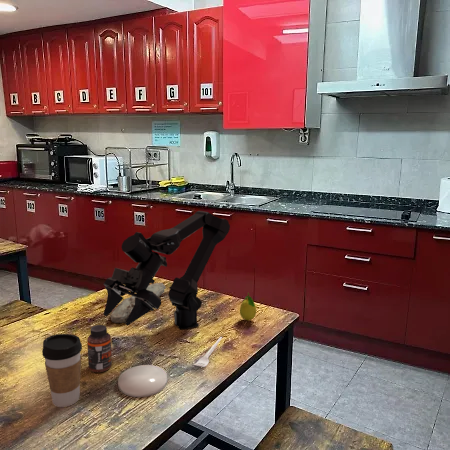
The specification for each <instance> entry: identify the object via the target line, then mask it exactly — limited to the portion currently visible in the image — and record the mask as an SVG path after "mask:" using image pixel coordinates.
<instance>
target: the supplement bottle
mask: <svg viewBox="0 0 450 450" xmlns="http://www.w3.org/2000/svg"><path fill="white" fill-rule="evenodd" d="M86 345H87V361H88V363H87V364H88V365H87V366H88V370H90V371H91V372H93V373H103V372H106V371H108V370H110V368H111V367H112V363H113V362H112V361H113V360H112V357H113V355H112V337H111V335H110V334H109V332H108V330H107V326H106V325H103V324H95V325H94V326H91V328H90V333H89V335H88V336H87V343H86Z"/></svg>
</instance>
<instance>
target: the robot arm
mask: <svg viewBox="0 0 450 450" xmlns="http://www.w3.org/2000/svg"><path fill="white" fill-rule="evenodd" d="M200 229H202V230H201V231H202V232H201V233H202V239H201V241H200V243H199V245H198V247H197V248H196V251H195V252H194V254H193V257H191V260H190V262H189V264H188V266H187V268H186V270H185V272H184V274H183V275H182V276H180V277H175V278H174V279H173V280H172V283H171V285H170V286H169V287H168V288H169V291H168V300H169V301H170V302H171V303H170V304H171V306H174V307H175V311H173V313H174V317H173V318H174V324H175V326H177V328H178V329H179V330H187V329H192V328H198V327H200V325H199V323H198V311H199V309H200V308H202V303H203V301H202V300H201V299H200V298H199V297H198V296H197V295H198V293H199V288H198V282H199V280H200V278H201V275H202V274H203V272H204V270H205V268H206V266H207V264H208V262H209V260H210V259H211V256H212V254H213V252H214V250H215V248H216V246H217V245H218V244H220V242H221V241H223V240H225V238H226V236H227V235H228V234H229V232H230V229H231V225H230V223H229V220H227V218H222V217H221V218H220V217H217V216H215V215H214V214H212V213H210V211H209V212H208V211H203V210H198V211H196V212H194V214H192V215H191V216H189V217H188V218H186V219H184V220H183V221H181V222H180V223H178V224H176V225H175V226H173V227H171V228H166V229H162V230H159V231H156V232H153V234H151V235H150V237H148V238H146V237H145V236H144V234H142V232H138V231H136V232H134V234H132V235H129V236H128V237H127V238H126V239H124V240H123V241H122V244H121V251H122V252H124V253H125V255H127V256H128V257H129V258H130V259H131V260H132V261H133V262H134V263H137V265H136V267H131V268H130V269H129V270H126V269H121V268H118V267H114V269H113V272H112V274H111V275H112V276H110V277H108V278H106V280H105V281H104V283H103V285H104V286H105V287H104V288H105V290H106V292H107V298H106V303H105V306H104V311H103V316H105V317H107V316H109V315H111V314H112V312H113V310H114V309H116V307H117V306H118V305H119V304H120V303H121V302H122V301H123V300H124V296H125V295H129V296H130V297H131V296H134V297H135V305H134V307H133V309H132V311H131V313H130V314H129V316H128V318H127V320H126V322H125V323H124V324H125V326H127V327H128V326H130V325H131V324H133V323H135V322H136V321H137V320H138V319H140V318H141V317H143V316H145V315H146V314H148V313H149V312H151V311H152V312H154V311H155V310H159V309H160V307H161V305H162V299H161V297H160V296H159V297H158V296H157V295H156V294H155V293H153V292H152V291H149V290H146V289H147V288H148V286H149V285H151V284H154V283H156V281H155V279H154V277H155V276H156V274H157V272H158V271H159V269H160V268H161V266H163V267H166V268H167V267H168V262H167V257H166V256H163V255H160V254H164V255H167V256H169V255H172V254H173V253H175V252H176V251H177V250H178V249H179V248H180V245H181V242H183V240H185V239H186V238H188V237H190V236H191V235H192V234H194V233H195V232H197V231H199V230H200ZM221 243H222V242H221ZM136 297H137V298H136Z"/></svg>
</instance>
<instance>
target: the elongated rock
mask: <svg viewBox="0 0 450 450" xmlns="http://www.w3.org/2000/svg"><path fill="white" fill-rule="evenodd" d="M146 290H149V291H152V292H153V293H155V294H156V295H157V296H158V297H159V298H160V296H161V295H162V294H163V293H164V292H165V290H166V285H165V284H164V283H163V282H154V284H152V283H150V284H149V286H148V288H147V289H146ZM136 298H137V297H136ZM134 305H135V297H134V296H131V295H130V297H127V298H123V300H122V301H121V302H120V303H119V304H118V305H117V306H116V307H115V308H114V309H113V310H112V312H111V313H110V314H109V315H110V320H111V322H112V323H116V324H119V323H124V324H125V322H126V320H127V318H128V316H129V314H130V313H131V311H132V309H133V307H134Z"/></svg>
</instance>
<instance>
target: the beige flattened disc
mask: <svg viewBox="0 0 450 450" xmlns="http://www.w3.org/2000/svg"><path fill="white" fill-rule="evenodd" d="M117 384H118V385H117V387H118V389H119V391H120V393H122V394H124V395H126V396H129V397H133V398H144V397H150V396H154V395H155V394H156V395H157V394H158V393H160V392H161V391H163V389H164V388H166V386H167V384H168V373H167V372H166V370H164V369H163V368H162V367H160V366H157V365H152V364H142V365H136V366H132V367H130V368H128V369H125V371H123V372H122V373H121V374H120V375H119V377H118V379H117Z"/></svg>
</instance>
